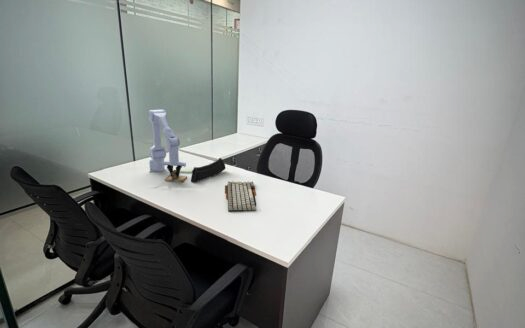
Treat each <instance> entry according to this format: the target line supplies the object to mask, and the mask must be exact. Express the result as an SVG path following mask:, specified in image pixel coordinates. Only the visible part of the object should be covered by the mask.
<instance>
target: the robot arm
mask: <svg viewBox="0 0 525 328" xmlns="http://www.w3.org/2000/svg"><path fill="white" fill-rule="evenodd" d="M148 121H149V123H151V129H152V140H153V146H151V147H149V156H150V159H149V163H148V164H149V172H150V173H153V172H163V171H165V170H166V169H167V170H168V171H169V175H171V177H172V172H173V171H174V167H175V170H176V172H177V177H179V176H180V174H181V173H180V170H181V167H187V163H186V162H182V161H180V158H179V155H180V154H179V146H180V144H181V143H180V139H179V137H178V136H177V135H175V133H174V131H173V128H171V127H169V124H168V122H167V111H166V110H165V109H150V110H149V111H148ZM161 128H162V129H163V130H162V133H163V135H164V139H165V140H166V146H167V151H168V160H169V161H165V159H166V157H167V151H166V147H165V146H164V145H162V138H161V136H162V135H161ZM165 166H166V168H165Z"/></svg>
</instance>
